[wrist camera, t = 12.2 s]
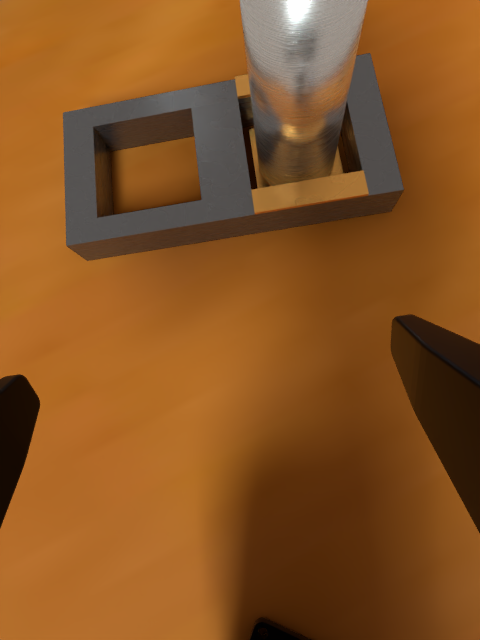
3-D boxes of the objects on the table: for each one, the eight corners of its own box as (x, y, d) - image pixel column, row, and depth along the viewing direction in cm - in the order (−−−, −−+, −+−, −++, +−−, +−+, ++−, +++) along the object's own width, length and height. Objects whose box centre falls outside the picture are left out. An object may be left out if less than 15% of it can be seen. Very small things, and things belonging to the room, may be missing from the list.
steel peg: (344, 135, 25) (398, -101, 13) (320, 201, 24) (353, 14, 12) (273, 117, 26) (263, -118, 14) (247, 180, 25) (214, -11, 13)
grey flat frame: (361, 85, 26) (370, 50, 23) (391, 211, 24) (405, 187, 21) (82, 138, 27) (61, 110, 25) (87, 260, 25) (64, 244, 22)
